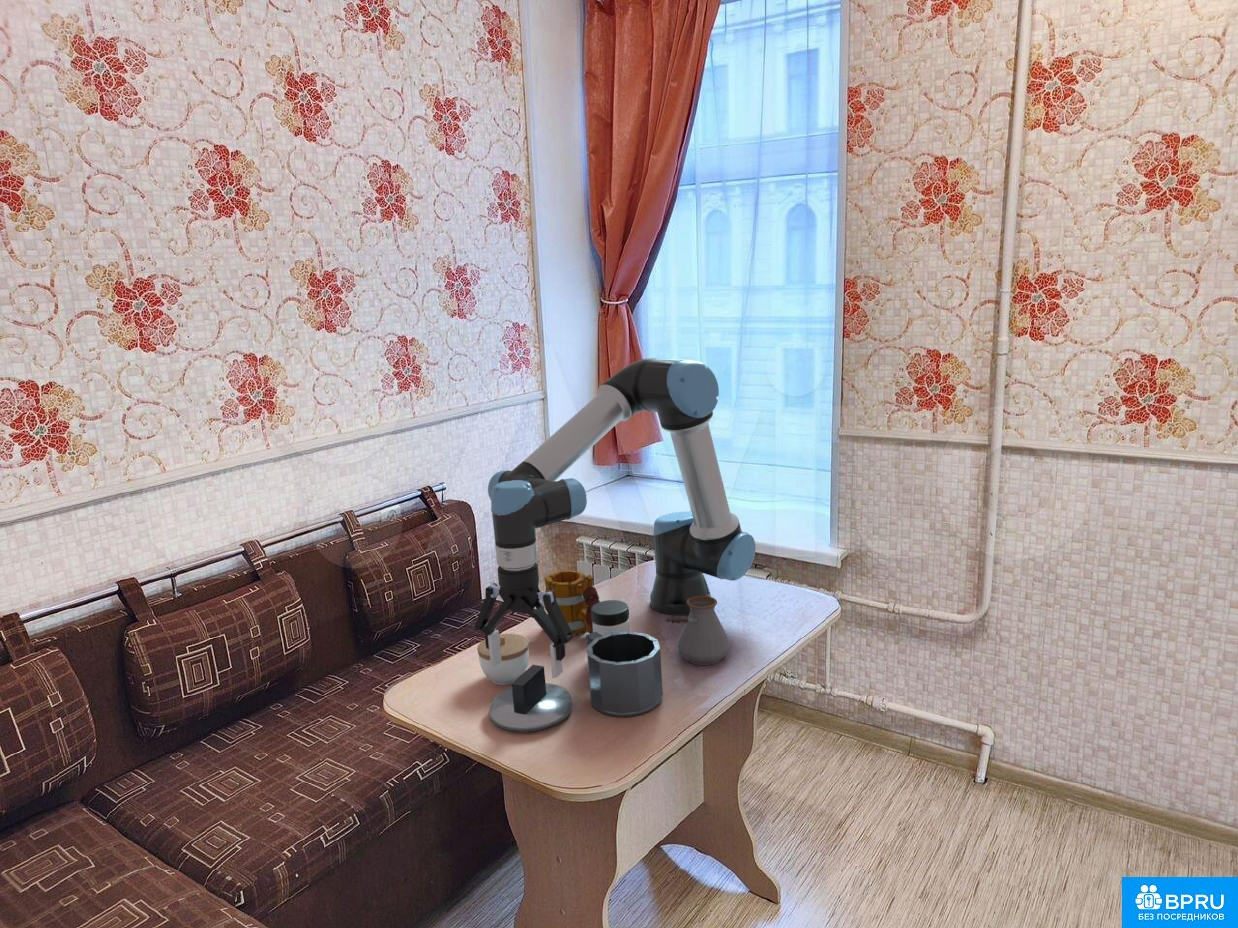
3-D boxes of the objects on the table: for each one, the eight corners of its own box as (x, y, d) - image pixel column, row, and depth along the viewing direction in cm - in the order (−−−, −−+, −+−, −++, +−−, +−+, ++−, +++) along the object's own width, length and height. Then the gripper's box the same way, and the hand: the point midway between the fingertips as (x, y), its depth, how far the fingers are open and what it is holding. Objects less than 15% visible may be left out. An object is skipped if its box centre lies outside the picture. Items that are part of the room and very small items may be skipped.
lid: (517, 687, 171) (514, 651, 169) (586, 699, 164) (584, 662, 162) (473, 727, 157) (469, 688, 155) (547, 742, 150) (543, 701, 148)
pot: (621, 666, 177) (618, 619, 174) (676, 699, 162) (673, 648, 159) (565, 688, 169) (561, 639, 166) (618, 725, 154) (614, 671, 152)
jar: (606, 671, 175) (602, 618, 172) (586, 657, 182) (582, 607, 179) (640, 658, 180) (637, 607, 177) (619, 645, 187) (616, 596, 184)
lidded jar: (540, 668, 178) (536, 628, 176) (518, 693, 168) (514, 650, 166) (495, 663, 182) (491, 624, 180) (471, 687, 172) (466, 646, 170)
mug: (569, 613, 206) (564, 556, 202) (617, 630, 195) (612, 570, 191) (536, 628, 198) (530, 570, 195) (583, 647, 187) (579, 585, 184)
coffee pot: (692, 641, 187) (690, 578, 183) (739, 651, 181) (737, 586, 177) (644, 683, 169) (640, 615, 166) (694, 695, 163) (691, 625, 160)
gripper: (450, 564, 155) (460, 668, 160) (567, 578, 145) (575, 688, 150) (472, 551, 162) (482, 651, 167) (586, 564, 152) (593, 670, 156)
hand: (526, 669), depth 158 cm, fingers open, 13 cm apart
